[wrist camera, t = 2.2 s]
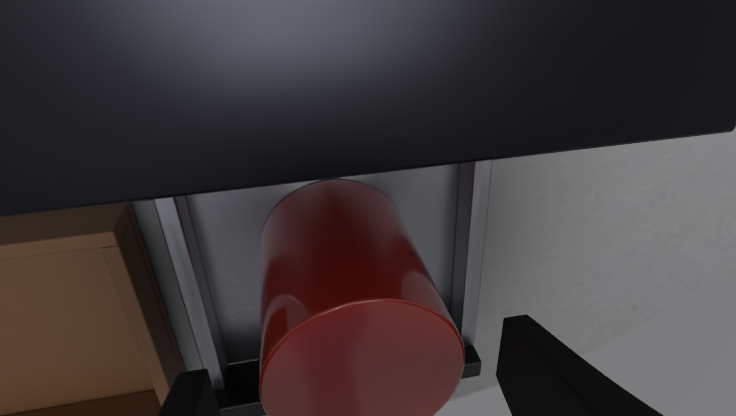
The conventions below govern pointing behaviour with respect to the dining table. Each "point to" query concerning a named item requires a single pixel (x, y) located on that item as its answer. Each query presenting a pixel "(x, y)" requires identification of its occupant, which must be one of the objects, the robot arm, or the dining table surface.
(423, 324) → the glossy red cylinder
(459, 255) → the tray
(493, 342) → the dining table surface
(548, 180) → the dining table surface
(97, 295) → the tray
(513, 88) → the oven
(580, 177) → the dining table surface
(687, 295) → the dining table surface
